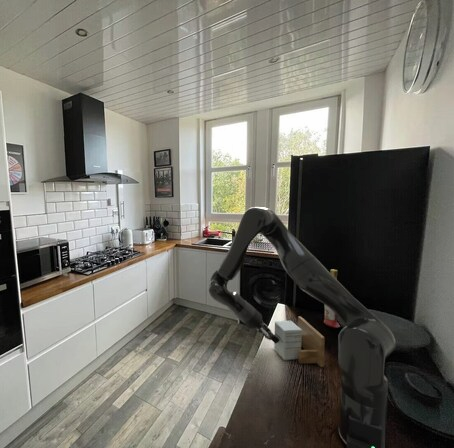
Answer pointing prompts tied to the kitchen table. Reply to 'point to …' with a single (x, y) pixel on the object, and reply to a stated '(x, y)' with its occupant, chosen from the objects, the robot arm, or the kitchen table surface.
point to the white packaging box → (288, 339)
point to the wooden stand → (311, 344)
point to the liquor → (329, 314)
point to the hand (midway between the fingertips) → (276, 341)
